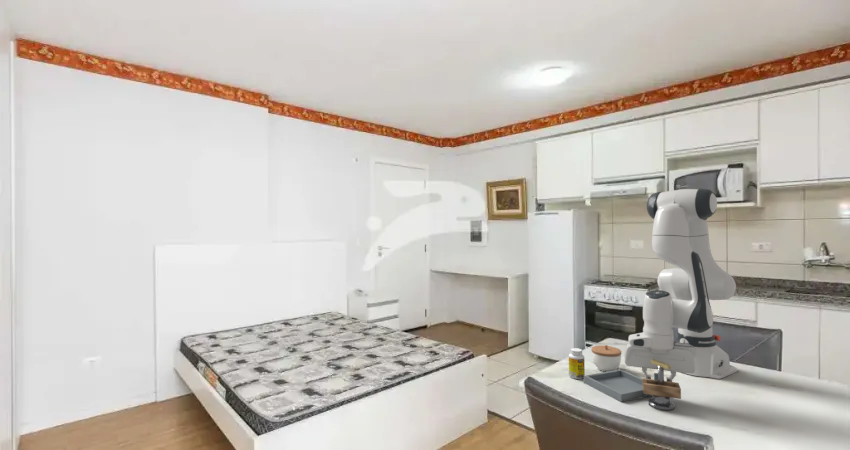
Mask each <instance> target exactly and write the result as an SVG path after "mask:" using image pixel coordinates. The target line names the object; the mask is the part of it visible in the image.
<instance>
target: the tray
mask: <svg viewBox="0 0 850 450" xmlns="http://www.w3.org/2000/svg"><path fill="white" fill-rule="evenodd" d="M642 378H643V377H642ZM642 378H641V377H639V376H637V375H635V374H632V373H630V372H628V371H626V370H623V369H615V370H614V371H608V372H605V371H602V372H598V373H593V374H586V375H585V376H584V378H583V384H585V385H588V387H591V388H593V389H595V390H597V391H599V392H601V393H603V394H605V395H606V396H609V397H611V398H613V399H614V400H616V401H618V402H620V403H624V402H628V401H634V400H638V399H643V398H647V397H652V395H650V394H644V393H643V382H642Z"/></svg>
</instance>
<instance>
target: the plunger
mask: <svg viewBox="0 0 850 450" xmlns="http://www.w3.org/2000/svg"><path fill="white" fill-rule="evenodd" d="M651 363H652V364H655V365H657V366H658V370H657V373H658V385H662V386H664V381H665V378H664V377H665V373H664V372H665V370H664V368H665V369H671V365H669V364H666V363H664V362H661V361H658V360H655V359H651ZM648 406H650V407H651V408H653V409H655V410H659V411H662V412H663V411H665V412H669V411H674V410H675V404H674V403H673V402H672V401H671V398H670V397H664V396H657V395H652V396H651V398H649V399H648Z"/></svg>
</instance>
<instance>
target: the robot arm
mask: <svg viewBox="0 0 850 450" xmlns="http://www.w3.org/2000/svg"><path fill="white" fill-rule="evenodd" d="M717 207H718V199H717V197H716V194H715V192H714V191H713V190H711V189H708V188H699V189H698V188H697V189H696V188H695V189H694V188H681V189H675V190H673V189H672V190H667V191H658V192H654V193H652V194H650V196H648V199H647V200H646V212H647V214H648V215H649V217H650V218H651V219H653V223H652V232H651V233H652V234H651V246H652V251H653V253H654V254H655V255H656V257H658V258H659V259H660V260H662V261H664V262H666V263H668V264H671V265H673V266H675V267H673V268H671V267H669V268H665V269H662V270H661V271H660V272H659V274H658V276H657V286H658V288H659V289H655V290H654V289H653V290H649V291H647V292H645V294H644V298H643V303H642V320H643V322H644V323H643V327H642V332H638V333H633V334H629V335H628V342H627V344H626V347H625V349H624V350H625V351H624V364H625V365H626V366H627V367H633V368H641V371H642V373H643V374H644V375H645V379H652V375H651V374H648V369H650V370H657V371H658V366H657V365H655V364H652V363H651V359H655V360H658V361H661V362H664V363H666V364H669V365H671V369H665V368H664V371H665V372H667V371H668V372H670V375H669V377H668V376H666V377H665V378H666V380H665V381H668V382H673V380H674V378H675V377H676V376H677V373H682V374H686V375H690V376H694V377H695V376H696V377H702V378H710V379H711V378H712V379H715V380H717V379H718V380H721V379H723V378H725V377H728V376H730V375H732V374H735V373H737V372H738V371H739V370H738V367H736V366H734V365H732V364H731V363H730V361H731V360H730V357H729V356H730V355H729V354H728V353H727V352H725V350H723V349H722V348H721V347H719V346H718V345H717V342H720V341H721V339H722V337H721V335H718V334H714V333H713V323H714V314H713V310H712V306H711V303H710V301H724V300H725V301H726V300H730V299H731V298H732V297H733V296H734V295H735V293H736V290H737V284H736V281H735V279H734V277H733V276H732V275H731V273H728V272H727V271H725V270H724V269H723V268H722V267H720V266H719V264H718V263H717V261H715V259H714V257H713V254H712V252H711V245H710V238H709V226H708V219H709V218H710V217H712V216H713V215H714V214H715V213H716V210H717ZM673 328H674V329H675V328H676V329H677V331H676V341H675V336H674V335H675V334H674V333H675V332H674V329H673ZM716 341H717V342H716Z"/></svg>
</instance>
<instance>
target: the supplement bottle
mask: <svg viewBox="0 0 850 450" xmlns="http://www.w3.org/2000/svg"><path fill="white" fill-rule="evenodd" d="M585 373H586V372H585V355H584V354H583V349H581V348H578V347H576V348H575V347H572V348H570V353H569V354H568V376H569V377H570V378H571V379H575V380H584V376H586V375H585Z"/></svg>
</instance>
